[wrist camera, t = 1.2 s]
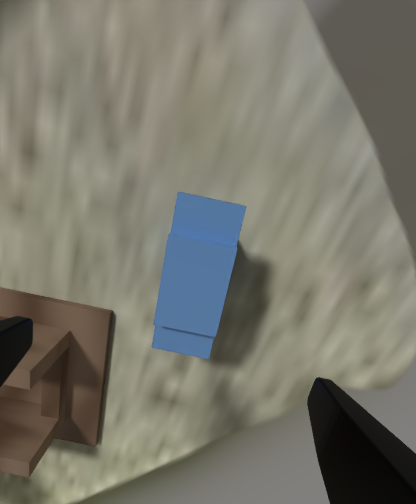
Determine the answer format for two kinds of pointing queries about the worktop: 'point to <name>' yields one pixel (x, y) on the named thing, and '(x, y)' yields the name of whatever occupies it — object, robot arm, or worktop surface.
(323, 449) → the robot arm
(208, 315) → the block
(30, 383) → the cradle
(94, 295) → the worktop surface
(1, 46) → the worktop surface
